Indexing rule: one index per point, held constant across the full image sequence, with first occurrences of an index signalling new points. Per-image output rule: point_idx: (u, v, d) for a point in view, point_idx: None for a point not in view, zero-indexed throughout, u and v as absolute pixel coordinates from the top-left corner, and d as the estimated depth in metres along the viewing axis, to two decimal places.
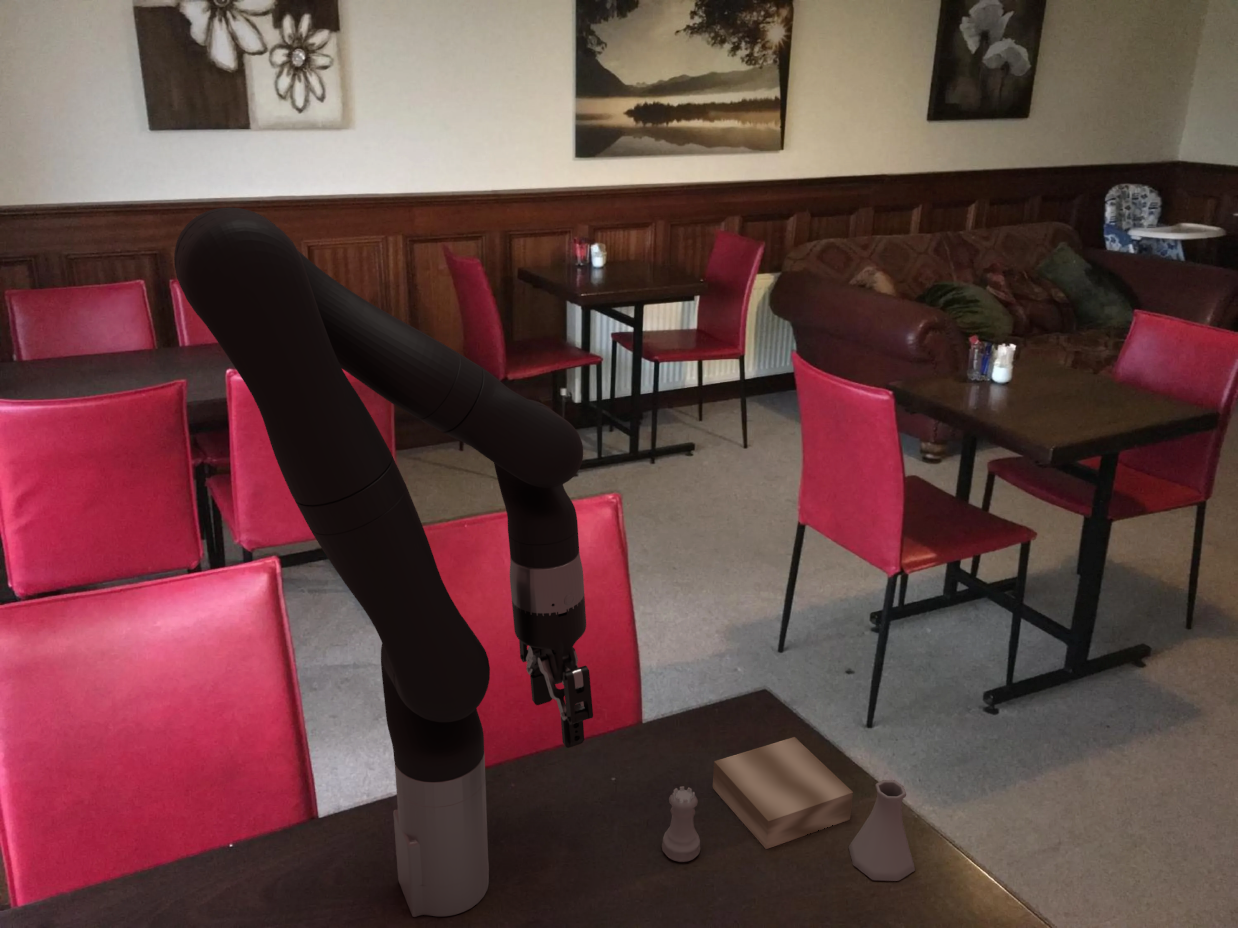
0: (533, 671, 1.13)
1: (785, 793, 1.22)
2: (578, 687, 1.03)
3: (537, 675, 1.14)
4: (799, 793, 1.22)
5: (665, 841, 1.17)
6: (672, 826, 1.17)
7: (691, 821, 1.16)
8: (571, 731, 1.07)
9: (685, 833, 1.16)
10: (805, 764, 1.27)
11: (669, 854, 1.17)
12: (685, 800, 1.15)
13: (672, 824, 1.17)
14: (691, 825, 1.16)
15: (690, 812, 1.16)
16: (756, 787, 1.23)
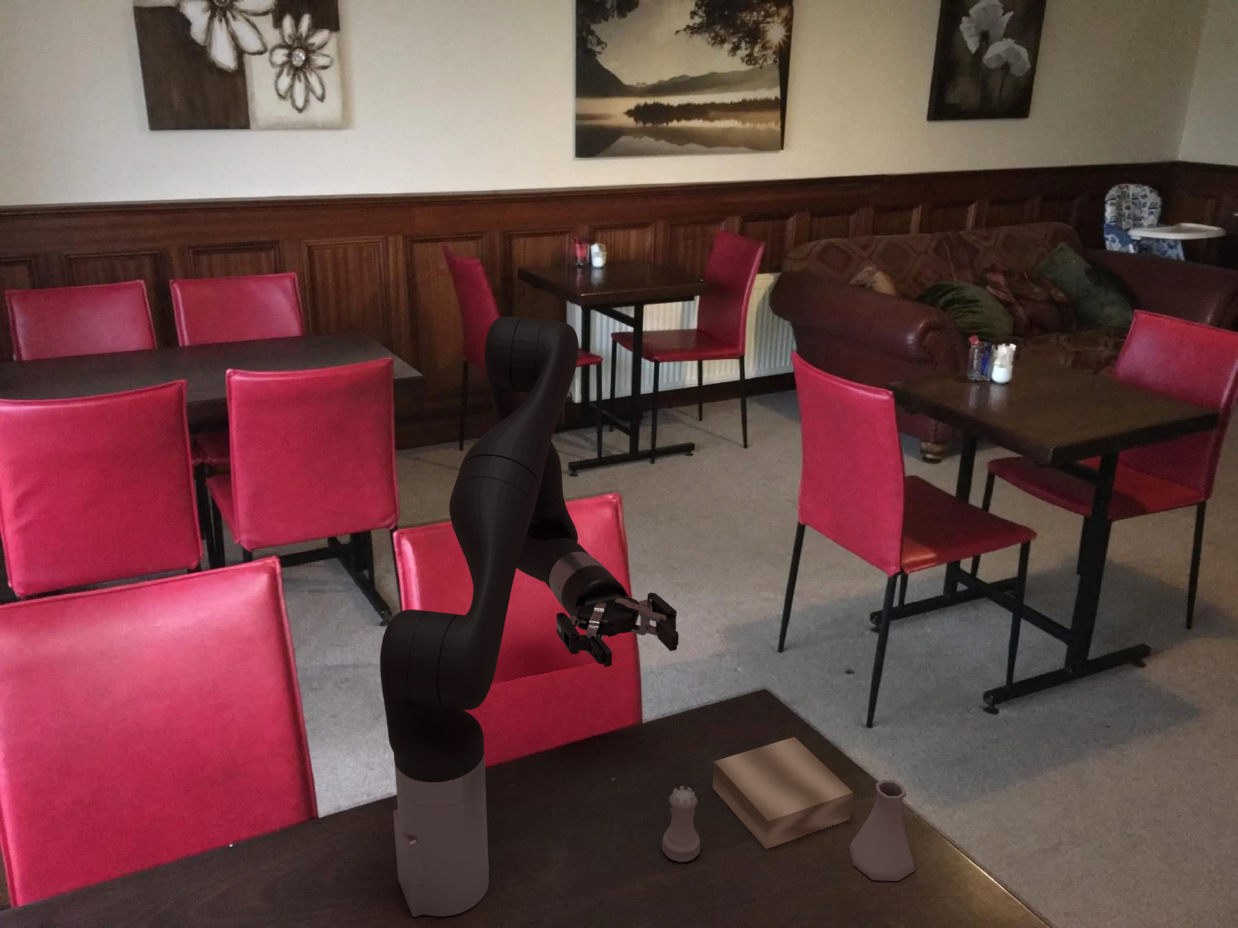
0: (596, 632, 1.23)
1: (785, 793, 1.22)
2: None
3: None
4: (799, 793, 1.22)
5: (665, 841, 1.17)
6: (672, 826, 1.17)
7: (691, 821, 1.16)
8: (672, 628, 1.25)
9: (685, 833, 1.16)
10: (805, 764, 1.27)
11: (669, 854, 1.17)
12: (685, 800, 1.15)
13: (672, 824, 1.17)
14: (691, 825, 1.16)
15: (690, 812, 1.16)
16: (756, 787, 1.23)
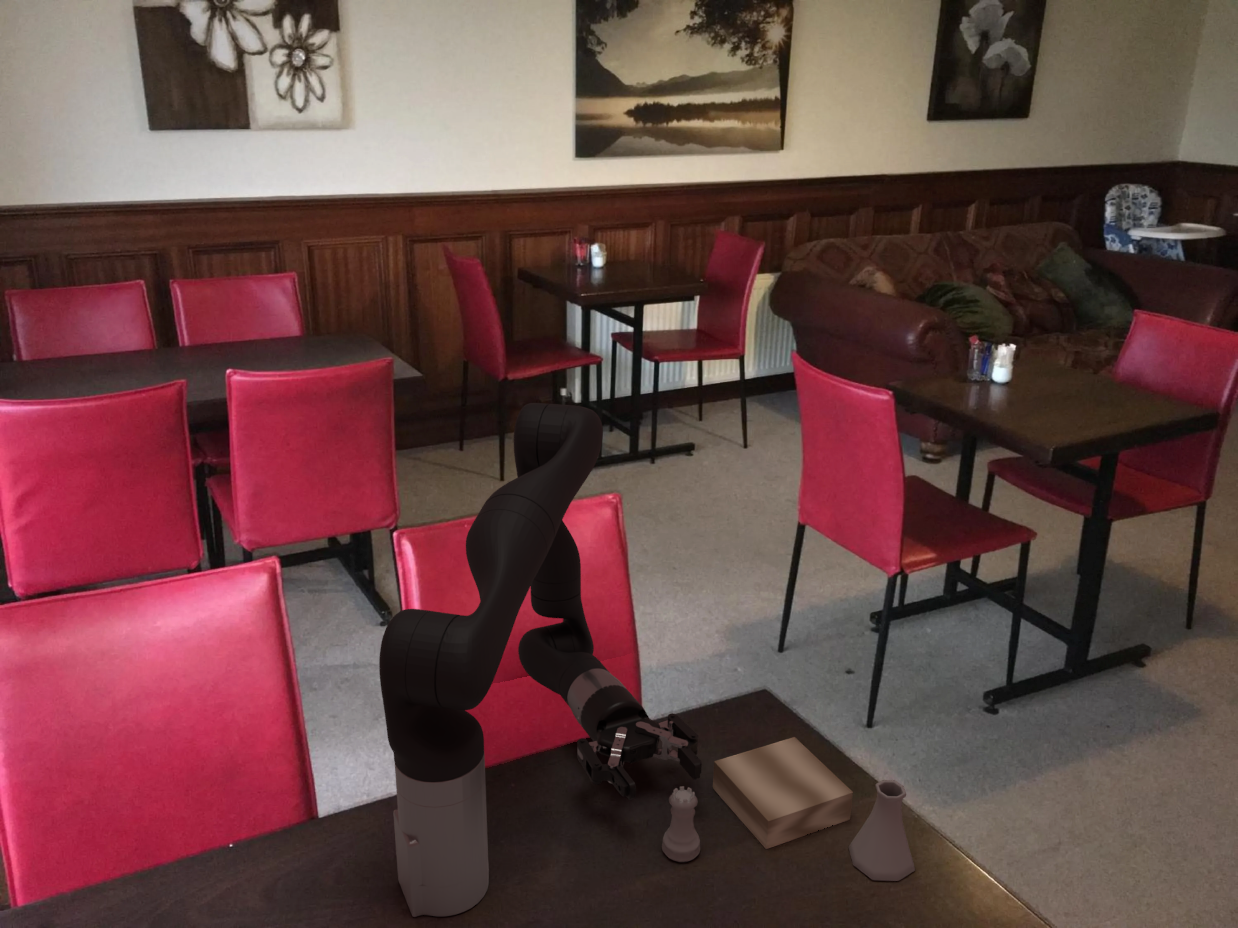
0: (619, 761, 1.22)
1: (785, 793, 1.22)
2: None
3: None
4: (799, 793, 1.22)
5: (665, 841, 1.17)
6: (672, 826, 1.17)
7: (691, 821, 1.16)
8: (695, 754, 1.24)
9: (685, 833, 1.16)
10: (805, 764, 1.27)
11: (669, 854, 1.17)
12: (685, 800, 1.15)
13: (672, 824, 1.17)
14: (691, 825, 1.16)
15: (690, 812, 1.16)
16: (756, 787, 1.23)
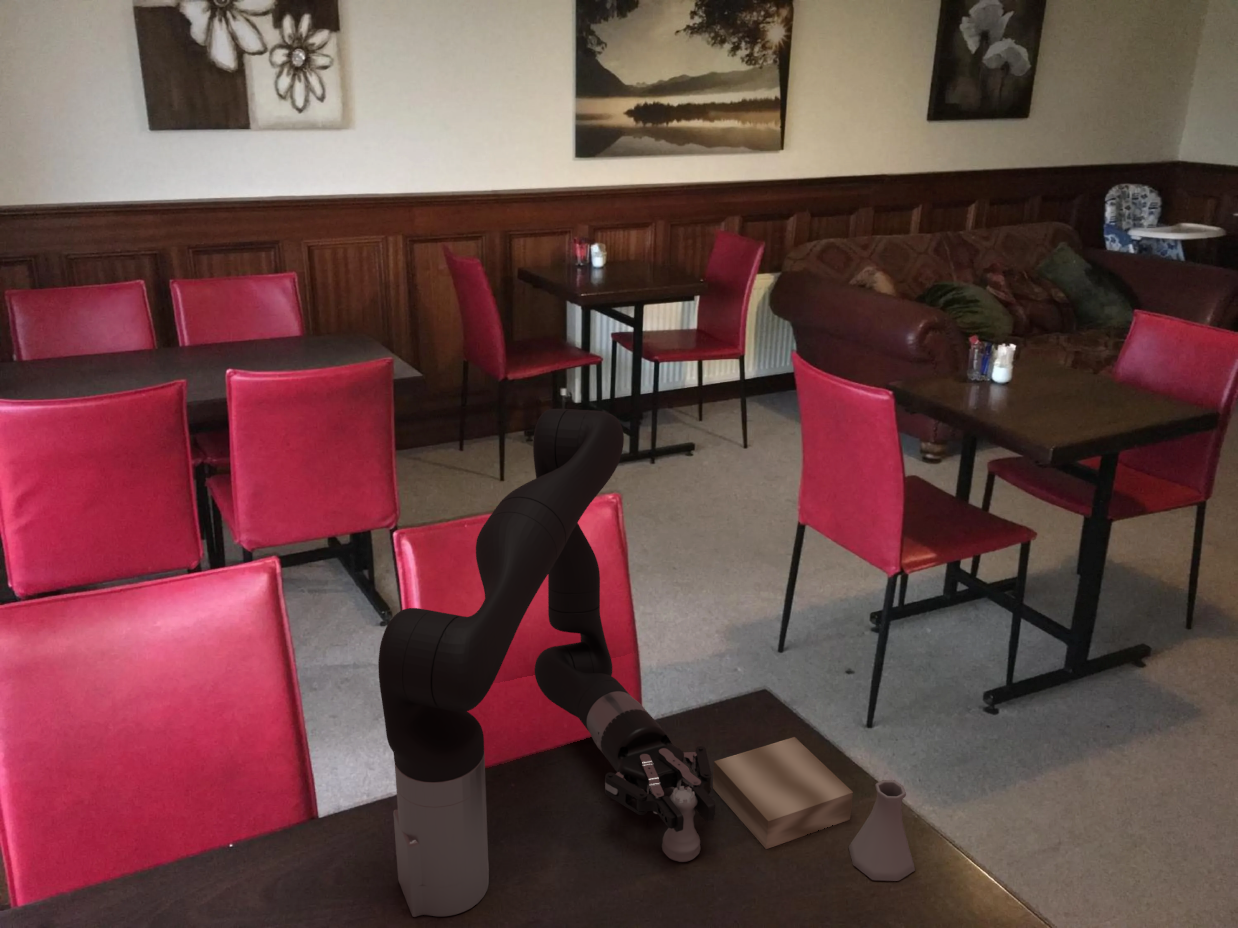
0: None
1: (785, 793, 1.22)
2: None
3: None
4: (799, 793, 1.22)
5: (665, 841, 1.17)
6: None
7: (691, 821, 1.16)
8: None
9: (685, 833, 1.16)
10: (805, 764, 1.27)
11: (669, 854, 1.17)
12: (685, 800, 1.15)
13: None
14: (691, 825, 1.16)
15: (690, 812, 1.16)
16: (756, 787, 1.23)
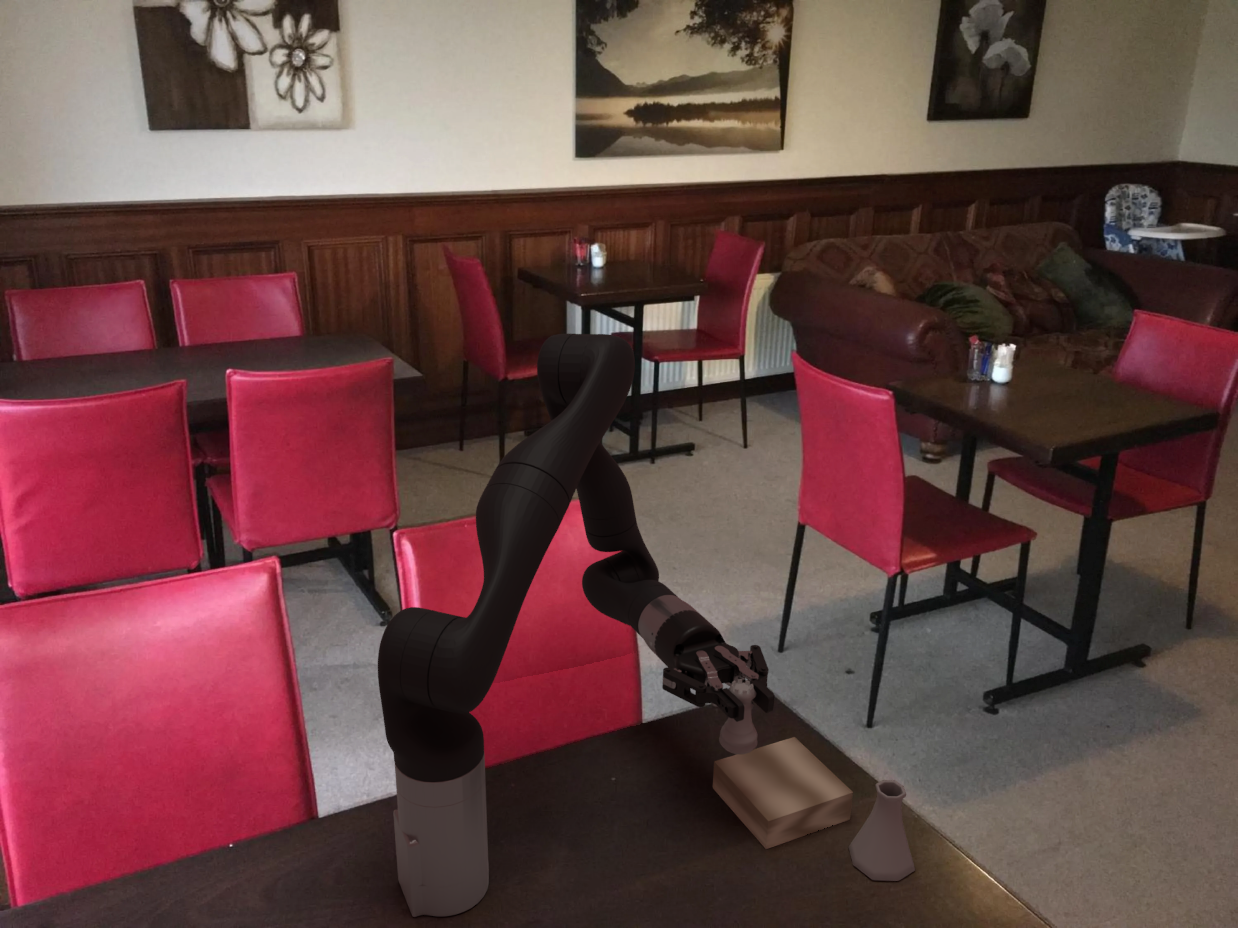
0: None
1: (785, 793, 1.22)
2: None
3: None
4: (799, 793, 1.22)
5: (723, 734, 1.18)
6: (730, 718, 1.17)
7: (749, 713, 1.17)
8: (766, 687, 1.17)
9: (743, 725, 1.17)
10: (805, 764, 1.27)
11: (727, 747, 1.18)
12: (744, 691, 1.15)
13: None
14: (749, 717, 1.17)
15: (749, 704, 1.16)
16: (756, 787, 1.23)
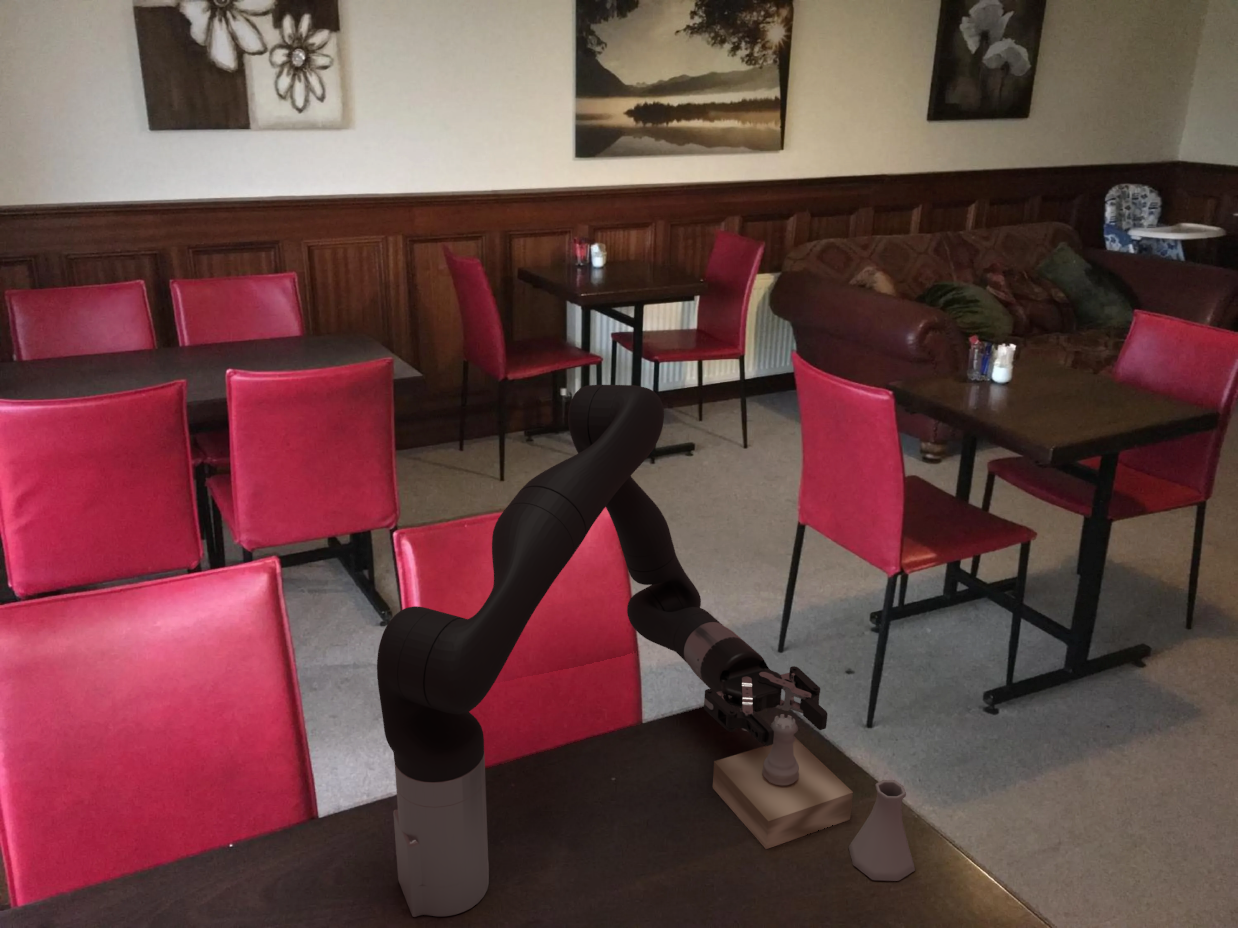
0: (753, 709, 1.22)
1: (785, 793, 1.22)
2: None
3: None
4: (799, 793, 1.22)
5: (766, 766, 1.24)
6: (773, 752, 1.23)
7: (791, 747, 1.23)
8: (819, 705, 1.24)
9: (786, 758, 1.23)
10: (805, 764, 1.27)
11: (770, 778, 1.24)
12: (787, 726, 1.21)
13: (773, 750, 1.23)
14: (791, 750, 1.23)
15: (791, 738, 1.22)
16: (756, 787, 1.23)
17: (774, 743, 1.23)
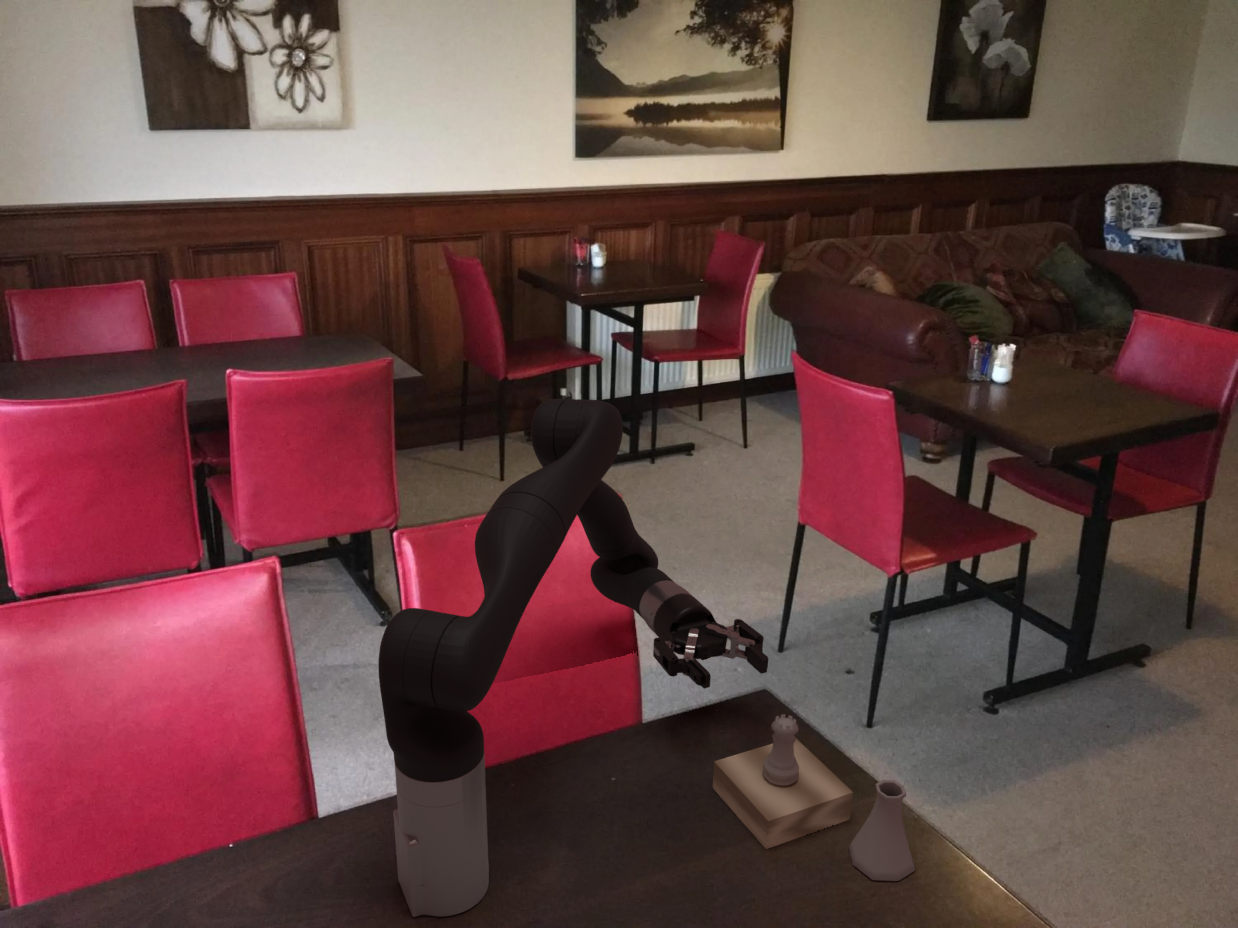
0: (693, 656, 1.33)
1: (785, 793, 1.22)
2: None
3: None
4: (799, 793, 1.22)
5: (766, 766, 1.24)
6: (774, 752, 1.23)
7: (792, 747, 1.23)
8: (761, 652, 1.35)
9: (786, 758, 1.23)
10: (805, 764, 1.27)
11: (770, 779, 1.24)
12: (788, 726, 1.21)
13: (774, 750, 1.23)
14: (792, 751, 1.23)
15: (792, 738, 1.22)
16: (756, 787, 1.23)
17: (775, 743, 1.23)
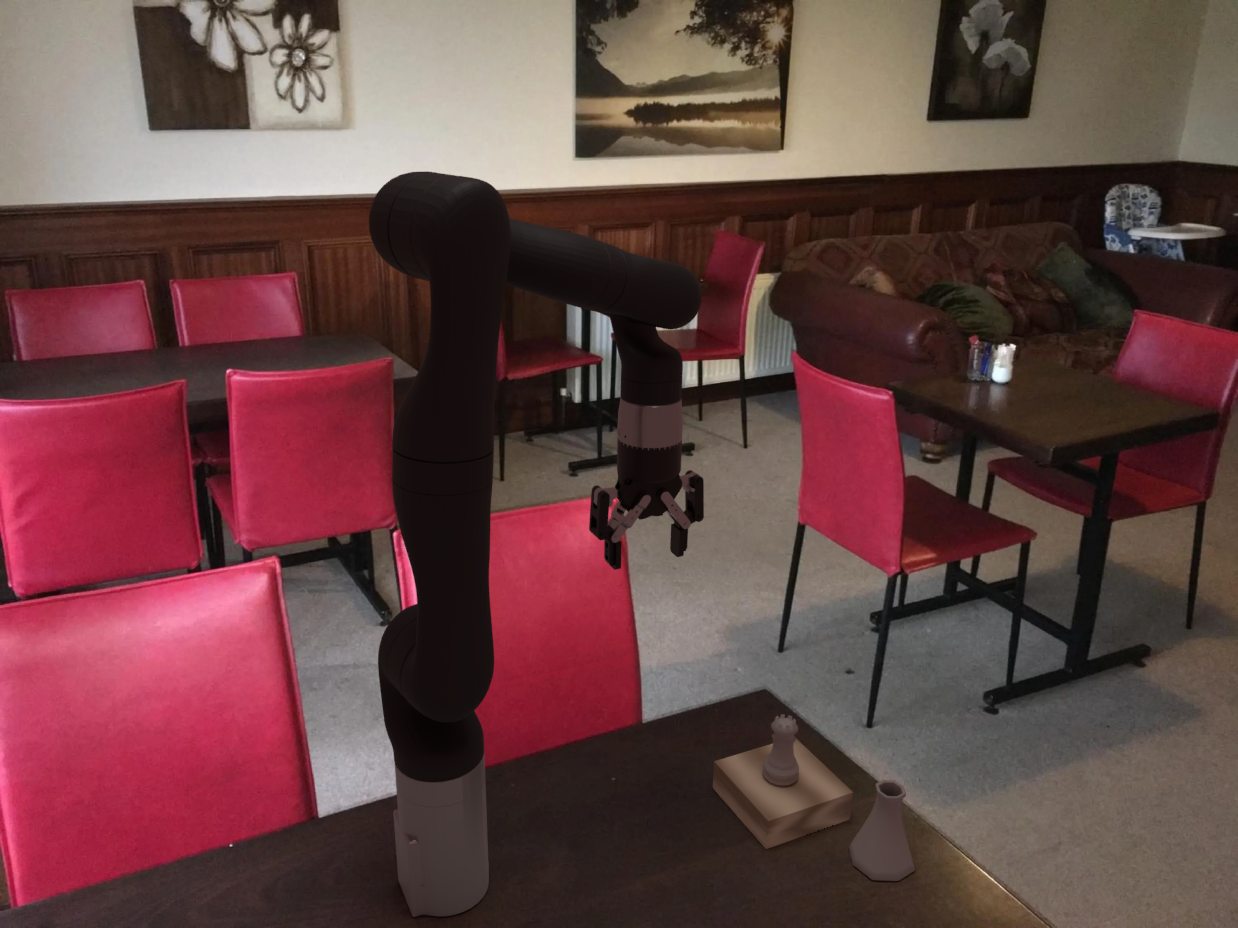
0: (622, 533, 1.21)
1: (785, 793, 1.22)
2: None
3: None
4: (799, 793, 1.22)
5: (766, 767, 1.24)
6: (773, 752, 1.23)
7: (792, 747, 1.23)
8: (687, 536, 1.26)
9: (786, 758, 1.23)
10: (805, 764, 1.27)
11: (770, 779, 1.24)
12: (787, 726, 1.21)
13: (773, 750, 1.23)
14: (792, 751, 1.23)
15: (791, 738, 1.22)
16: (756, 787, 1.23)
17: (774, 743, 1.23)
